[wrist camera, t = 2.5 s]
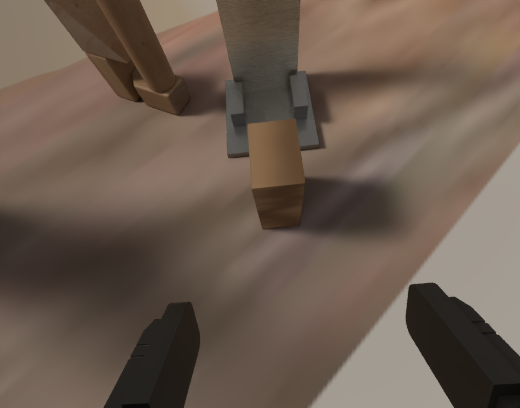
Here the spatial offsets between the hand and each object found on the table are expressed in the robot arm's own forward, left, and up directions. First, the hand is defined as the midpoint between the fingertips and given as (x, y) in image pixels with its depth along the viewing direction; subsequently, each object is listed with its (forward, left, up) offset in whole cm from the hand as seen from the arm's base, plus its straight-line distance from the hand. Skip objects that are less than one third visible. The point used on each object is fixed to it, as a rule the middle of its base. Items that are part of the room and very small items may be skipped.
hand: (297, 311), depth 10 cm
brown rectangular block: (0, +12, -17) cm, 21 cm away
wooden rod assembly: (-16, +30, -17) cm, 38 cm away
